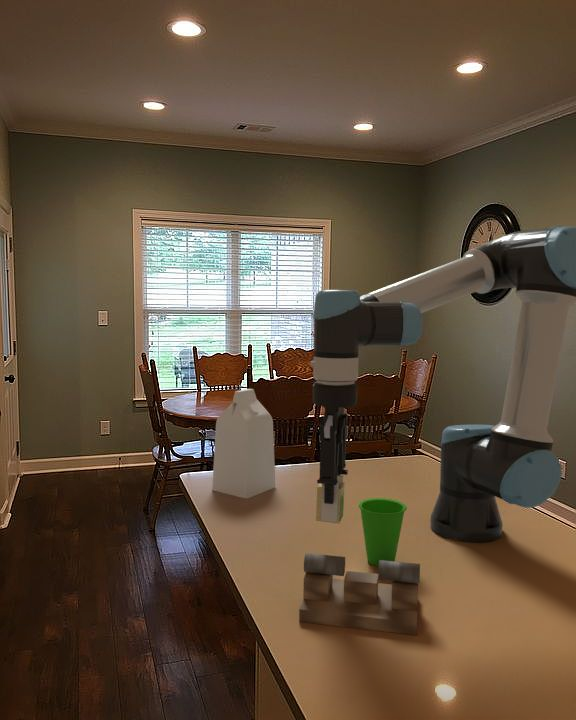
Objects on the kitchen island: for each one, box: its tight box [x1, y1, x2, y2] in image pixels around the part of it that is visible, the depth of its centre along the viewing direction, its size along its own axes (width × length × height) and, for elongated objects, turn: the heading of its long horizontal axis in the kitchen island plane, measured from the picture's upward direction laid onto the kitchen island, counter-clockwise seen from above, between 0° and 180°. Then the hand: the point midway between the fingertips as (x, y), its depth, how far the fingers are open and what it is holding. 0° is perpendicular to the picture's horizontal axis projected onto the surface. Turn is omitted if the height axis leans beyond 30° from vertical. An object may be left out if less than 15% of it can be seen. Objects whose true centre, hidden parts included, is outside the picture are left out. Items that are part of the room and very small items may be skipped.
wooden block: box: [315, 481, 346, 524], centre depth 111 cm, size 4×4×6 cm
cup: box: [358, 497, 407, 567], centre depth 123 cm, size 9×9×11 cm
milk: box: [211, 388, 276, 499], centre depth 167 cm, size 12×12×26 cm
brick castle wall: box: [298, 552, 421, 636], centre depth 104 cm, size 18×12×8 cm, turn 78°
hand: (331, 515), depth 111 cm, fingers closed on wooden block, 4 cm apart
